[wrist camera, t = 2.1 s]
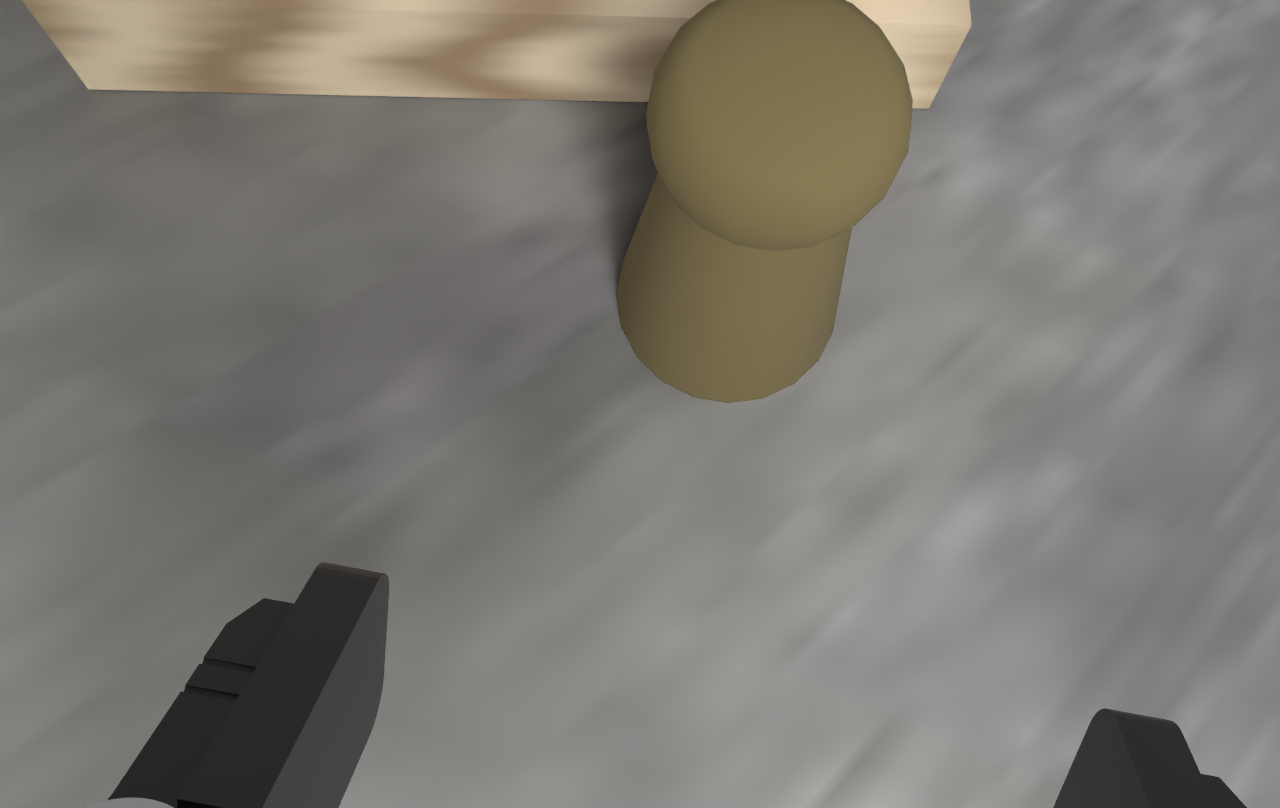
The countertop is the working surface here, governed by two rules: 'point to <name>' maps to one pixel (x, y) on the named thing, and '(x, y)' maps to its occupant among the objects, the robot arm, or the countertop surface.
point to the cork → (758, 190)
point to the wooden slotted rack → (427, 45)
